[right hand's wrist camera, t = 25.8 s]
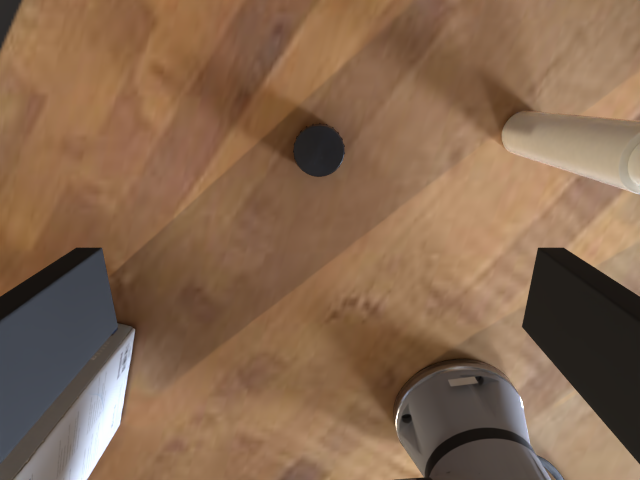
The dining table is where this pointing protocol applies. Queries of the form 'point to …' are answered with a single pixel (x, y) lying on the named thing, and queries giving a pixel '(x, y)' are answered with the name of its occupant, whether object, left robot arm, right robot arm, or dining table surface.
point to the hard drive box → (77, 419)
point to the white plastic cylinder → (579, 145)
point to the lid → (319, 150)
